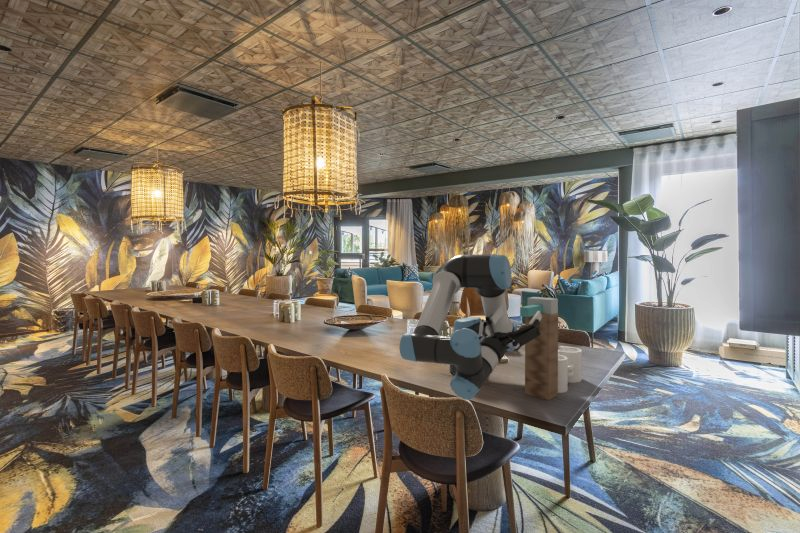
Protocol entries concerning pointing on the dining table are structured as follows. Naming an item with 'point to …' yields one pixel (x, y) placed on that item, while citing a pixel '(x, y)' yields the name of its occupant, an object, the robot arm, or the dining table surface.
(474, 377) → the robot arm
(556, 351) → the tall wooden pillar
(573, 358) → the white double cylinder
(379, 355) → the dining table surface
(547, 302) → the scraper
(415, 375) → the dining table surface
